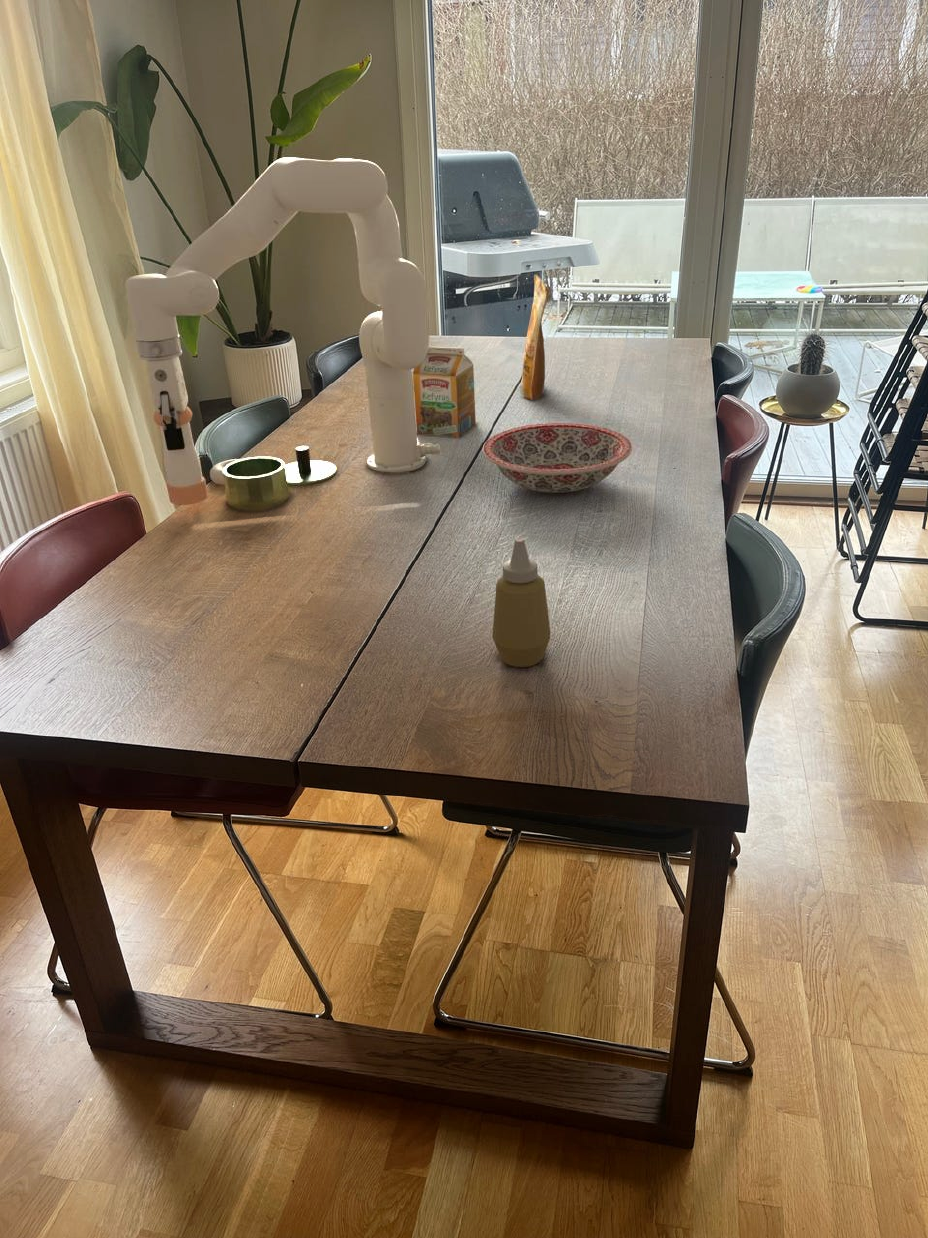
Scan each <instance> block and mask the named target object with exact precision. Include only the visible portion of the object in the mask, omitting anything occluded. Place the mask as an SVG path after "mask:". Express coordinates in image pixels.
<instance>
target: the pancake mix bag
mask: <svg viewBox="0 0 928 1238" xmlns="http://www.w3.org/2000/svg"><path fill="white" fill-rule="evenodd" d="M533 281H534V282H533V283H534V285H533V302H532V307H531V311H530V312H531V313H530V318H529V323H528V328H527V334H526V340H525V347H524V354H523V361H522V362H523V363H522V369H521V371H522V372H521V382H522V393H523V398H524V399H529V400H531V401H533V400H537V399H541V398H542V396H543V394H544V393H543V392H544V386H545V380H546V352H545V343H544V333H543V327H542V319H543V317H544V313H545V310H546V307H547V304H548V301H549V298H550V289H549V287H548V286H547V285H546V283H545V282H544V281H543V279H542V278H541V277H540V276H539V275H538V274H537V273H536V274H534V275H533Z"/></svg>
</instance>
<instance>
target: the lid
mask: <svg viewBox="0 0 928 1238" xmlns="http://www.w3.org/2000/svg"><path fill="white" fill-rule="evenodd" d="M310 454H311V453H310V446H307V445H299V446H297V447H295V456H296V461H295V462H291V463H290V462H289V463H288V464H287V463H286V464H285V469H286V476H287V483H288V485H291V486H305V485H312V484H317V483H321V482H324V481H327V480H329V479H331V478H332V477H334V476H335V475H336V473H337V466H336V465H335V464H333V463H332V462H329V461H324V460H311V455H310Z"/></svg>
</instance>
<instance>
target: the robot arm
mask: <svg viewBox="0 0 928 1238" xmlns="http://www.w3.org/2000/svg"><path fill="white" fill-rule="evenodd" d="M388 186H389V185H388V180H387V176H386V174H385V173H384V171H383V169H382V168H380V167H379V165H377V164H376V163H374V162H372V161H369V160H364V159H355V158H336V159H333V160H322V159H311V158H300V157H290V156H289V157H282V158H279V159H276V160H275V161H274V162H273V163H271V164H270V165H269V166H268V167H267V169H266V170H265V171H264V172H263V173H261V175H260V176H259V177H258V178H257V179H256V180H255V181H254V183H253V184H252V185H251V186H250V187H249V188H248V189H247V191H246V192H245V193H244V194H243V195H242V196H241V197H240V199H238V200H237V202H236V203H235V204H234V205H232V206H231V208H230V209H229V210H228V211H227V212H226V213H225V214H224V216H222V217H221V218H219V219H218V220H217V221H216V222H215V223H213V225H211V226H210V227H209V228H208V229H206V230H205V231H204V232H202V233H201V234H200V235H199V236H198V237H197V238H196V239H195V240H193V241H192V242H191V243H190V244H189V245H188V246H187V247H186V249H185V250H184V251H183V252H182V253H181V254H180V255H179V256H178V258H177V259H176V260H175V261H174V262H173V263H172V264H171V265H170V266H169V268H168V269H167V271H166V273H165V275H163V274H161V273H160V274H159V273H145V274H138V275H133V276H130V277H129V278H127V279H126V280H125V283H124V289H125V295H126V298H127V303H128V304H127V305H128V308H129V309H128V310H129V313H130V317H131V323H132V327H133V328H132V329H133V332H134V337H135V343H136V347H137V352H138V357H139V359H140V360H142V361H146V366H147V372H148V377H149V383H150V387H151V393H152V398H153V402H154V407H155V410H157V413H159V414H160V415H161V414H162V421H163V428H164V429H163V431H164V436H165V441H166V446H167V449H168V450H180V449H184V448H185V444H184V438H183V433H182V428H181V427H179V419H178V411H180V412H181V413H183V412H184V411H185V409H186V406H187V407H188V403H189V396H188V392H187V388H186V387H187V386H186V382H185V379H184V373H183V370H182V364H181V360H180V356H182V355H183V349H182V343H181V338H180V333H179V327H178V322H177V321H178V320H177V317H176V316H186V317H187V316H191V317H192V316H193V317H195V316H196V317H197V316H204V315H206V314H209V313H211V312H212V311H213V310H215V308H216V307H217V306H218V303H219V301H220V290H219V287H218V285H217V283H216V280H217V279H218V278H220V276H221V275H223V273H225V271H227V270H228V269H230V268H231V267H232V266H234V265H236V264H237V263H239V262H241V261H244V260H246V259H249V258H252V257H254V256H256V255H259V253H261V252H263V251H264V250H266V248H268V246H269V245H270V244H271V243H272V241H273V240H274V239H275V238H276V237H277V236H278V235H279V234H280V232H282V230H283V229H284V227H286V226H287V224H289V223H290V222H291V220H292V219H293V218H294V217H295V216H296V215H297V213H298V212H302V213H314V214H316V213H317V214H346V215H347V216H348V218H349V220H350V222H351V224H352V226H353V230H354V234H355V241H356V250H357V251H356V252H357V262H358V276H359V278H358V279H359V286H360V291H361V293H362V295H363V297H364V298H365V299H366V300H367V302H369V303H371V304H373V305H375V306H377V307H380V309H381V310H380V311H375V312H373V313H371V314H369V315H368V316H366V318H365V319H364V320H363V322H362V323H361V326H360V328H359V335H358V342H359V343H358V344H359V349H360V353H361V358H362V361H363V366H364V371H365V378H366V379H365V380H366V388H367V399H368V400H367V401H368V409H369V410H368V411H369V420H370V430H371V442H372V452H373V454H372V455H370V456H369V457H368V458H367V460H366V465H367V467H368V468H370V470H373V471H377V472H383V473H400V472H406V471H409V472H413V471H416V470H419V469H420V468H422V467H423V466H424V465H425V464H426V463H427V458H426V455H438V454H440V453H441V448H440V444H439V443H438V444H433V442H426V443H422V442H420V441H419V439H418V434H417V426H416V412H415V398H414V383H413V372H412V370H414V368H416V367H417V366H419V365H420V364H421V363H422V362H423V360H424V359H425V357H426V355H427V352H428V348H429V346H430V322H429V321H430V320H429V303H428V290H427V285H426V281H425V278H424V276H423V274H422V272H421V270H420V269H419V267H417V266H416V265H415V264H414V263H412V262H411V261H409V260H406V259H404V258H403V252H402V251H403V250H402V242H401V233H400V232H401V231H400V224H399V219H398V215H397V212H396V209H395V207H394V204H393V202H392V201H391V199H390V197H389V196H388V190H389V189H388V188H389V187H388ZM170 409H174V411H171V412H170ZM173 415H174V418H175V419H174V418H173V417H171V416H173Z"/></svg>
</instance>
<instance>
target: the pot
mask: <svg viewBox="0 0 928 1238" xmlns="http://www.w3.org/2000/svg"><path fill="white" fill-rule="evenodd" d="M241 459H242V460H238V461H235V462H232V463H230V464H228V465H227V466H225V467H224V468H223V472H222V473H223V479H224V485H223V486H224V490H225V495H226V500H227V504H228V505H229V506H231V507H233V508H236V509H240V510H259V509H260V510H261V509H266V508H270V507H274V506H277V505H279V504H281V503H284V502H285V501H286V500H287V499H288V498H289V497H290V492H289V484H288V483H287V476H286V469H285V465H286V463H285V461H283V460H282V459H280V458H277V457H273V456H254V457H253V456H252V457H246V458H241Z"/></svg>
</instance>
